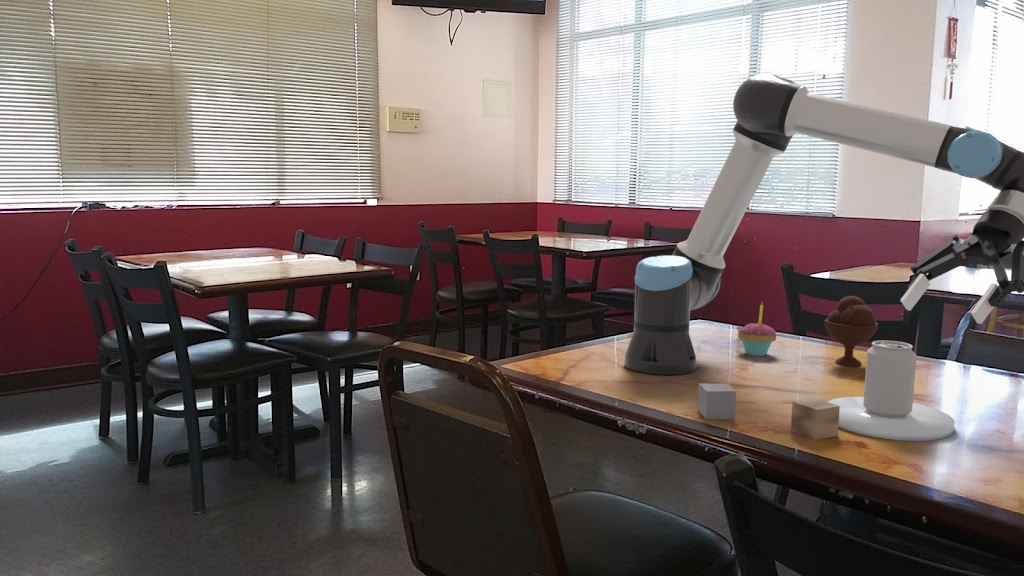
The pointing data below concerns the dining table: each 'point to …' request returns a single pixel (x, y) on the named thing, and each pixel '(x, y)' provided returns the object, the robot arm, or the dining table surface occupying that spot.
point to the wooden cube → (815, 418)
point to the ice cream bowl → (851, 327)
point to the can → (889, 379)
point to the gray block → (717, 401)
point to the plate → (894, 422)
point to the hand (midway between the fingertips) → (938, 311)
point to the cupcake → (757, 337)
